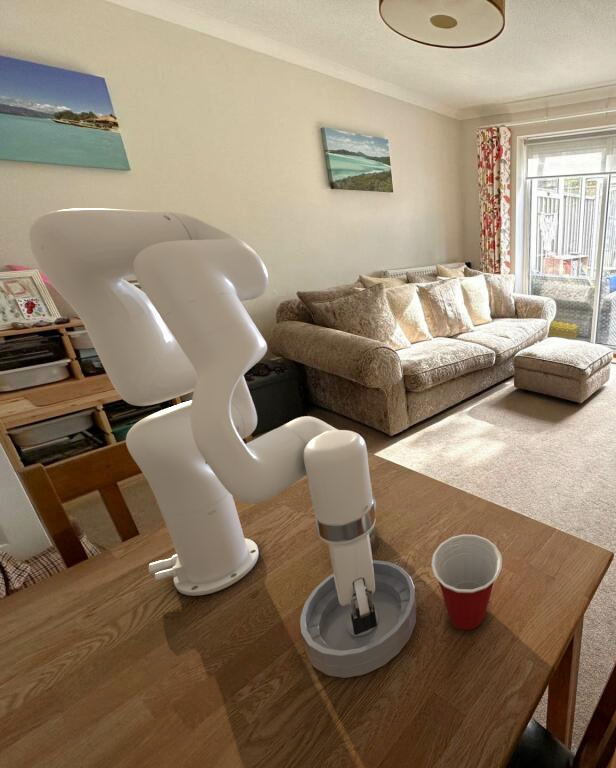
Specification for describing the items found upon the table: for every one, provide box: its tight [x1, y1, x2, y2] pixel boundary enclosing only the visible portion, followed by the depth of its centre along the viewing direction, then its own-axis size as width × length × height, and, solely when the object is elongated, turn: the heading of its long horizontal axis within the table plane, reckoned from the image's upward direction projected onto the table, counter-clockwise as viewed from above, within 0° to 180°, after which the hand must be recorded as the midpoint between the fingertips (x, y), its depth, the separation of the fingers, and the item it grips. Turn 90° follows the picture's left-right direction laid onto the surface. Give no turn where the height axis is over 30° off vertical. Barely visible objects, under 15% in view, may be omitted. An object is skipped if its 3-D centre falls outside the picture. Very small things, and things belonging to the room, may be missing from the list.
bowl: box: [299, 559, 417, 679], centre depth 63 cm, size 16×16×5 cm
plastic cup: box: [431, 533, 503, 631], centre depth 64 cm, size 11×11×12 cm
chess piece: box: [347, 586, 379, 636], centre depth 62 cm, size 5×5×8 cm
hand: (360, 608), depth 62 cm, fingers open, 6 cm apart
